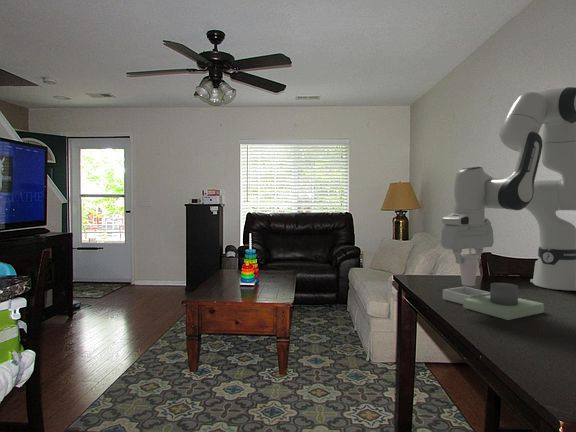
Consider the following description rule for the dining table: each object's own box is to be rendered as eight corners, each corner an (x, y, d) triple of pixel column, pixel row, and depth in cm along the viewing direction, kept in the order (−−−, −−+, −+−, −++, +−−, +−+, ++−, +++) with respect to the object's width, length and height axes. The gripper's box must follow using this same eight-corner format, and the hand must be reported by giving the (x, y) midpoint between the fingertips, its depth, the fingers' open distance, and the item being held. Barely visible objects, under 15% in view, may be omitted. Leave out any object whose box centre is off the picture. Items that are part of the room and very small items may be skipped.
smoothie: (482, 286, 123) (482, 241, 123) (460, 286, 124) (460, 241, 123) (475, 282, 129) (475, 239, 129) (455, 282, 130) (454, 239, 130)
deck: (470, 294, 135) (470, 272, 135) (543, 312, 114) (544, 286, 114) (436, 299, 128) (436, 276, 128) (508, 320, 107) (508, 292, 106)
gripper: (481, 217, 134) (480, 259, 134) (437, 218, 124) (437, 263, 125) (499, 218, 128) (498, 261, 129) (454, 219, 119) (454, 266, 119)
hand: (467, 262), depth 126 cm, fingers closed on smoothie, 6 cm apart
